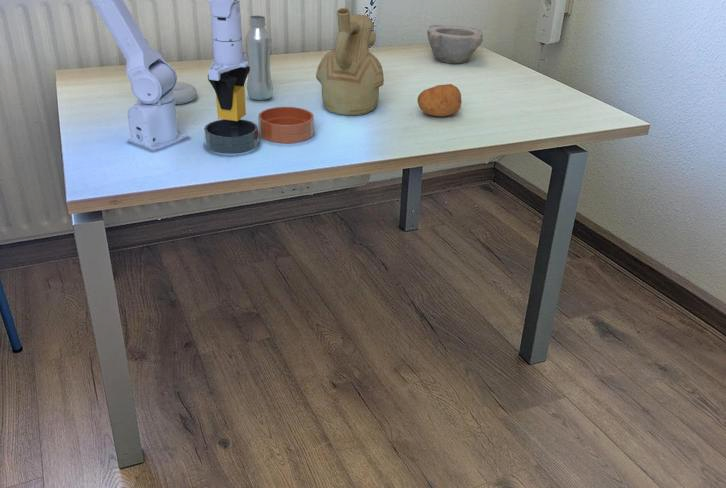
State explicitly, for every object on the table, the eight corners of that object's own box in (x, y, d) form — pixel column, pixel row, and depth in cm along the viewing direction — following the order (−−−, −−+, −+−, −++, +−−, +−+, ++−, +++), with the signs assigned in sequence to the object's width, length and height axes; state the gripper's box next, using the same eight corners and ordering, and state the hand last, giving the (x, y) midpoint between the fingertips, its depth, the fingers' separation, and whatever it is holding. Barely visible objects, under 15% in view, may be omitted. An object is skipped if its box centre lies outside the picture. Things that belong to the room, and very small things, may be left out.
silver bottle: (260, 92, 173) (257, 12, 163) (278, 98, 170) (277, 17, 159) (241, 98, 169) (237, 16, 159) (260, 104, 165) (256, 21, 155)
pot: (233, 160, 136) (232, 141, 134) (194, 146, 141) (193, 128, 139) (269, 144, 144) (268, 126, 142) (231, 132, 149) (230, 115, 147)
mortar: (478, 55, 215) (482, 25, 210) (479, 69, 200) (483, 38, 196) (426, 51, 217) (429, 22, 212) (423, 65, 202) (426, 34, 197)
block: (237, 121, 137) (236, 92, 134) (217, 118, 138) (215, 90, 135) (245, 114, 141) (244, 86, 138) (226, 111, 141) (224, 84, 138)
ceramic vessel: (390, 100, 172) (397, -2, 160) (371, 125, 156) (376, 14, 143) (328, 92, 176) (329, -8, 163) (302, 116, 160) (301, 7, 147)
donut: (148, 104, 163) (187, 107, 161) (146, 90, 161) (185, 93, 159) (167, 92, 171) (204, 95, 169) (165, 78, 169) (202, 82, 168)
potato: (466, 120, 162) (470, 90, 158) (423, 123, 159) (426, 92, 155) (452, 107, 169) (456, 78, 165) (410, 110, 166) (413, 80, 163)
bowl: (290, 150, 141) (290, 129, 139) (247, 136, 147) (247, 116, 145) (324, 134, 150) (324, 114, 148) (283, 121, 156) (282, 103, 153)
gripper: (231, 49, 124) (235, 119, 131) (260, 32, 136) (262, 97, 143) (196, 45, 125) (201, 114, 132) (227, 28, 138) (231, 93, 145)
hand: (231, 105), depth 138 cm, fingers closed on block, 4 cm apart
